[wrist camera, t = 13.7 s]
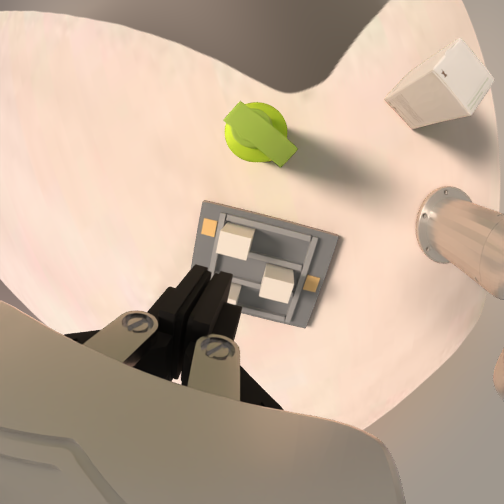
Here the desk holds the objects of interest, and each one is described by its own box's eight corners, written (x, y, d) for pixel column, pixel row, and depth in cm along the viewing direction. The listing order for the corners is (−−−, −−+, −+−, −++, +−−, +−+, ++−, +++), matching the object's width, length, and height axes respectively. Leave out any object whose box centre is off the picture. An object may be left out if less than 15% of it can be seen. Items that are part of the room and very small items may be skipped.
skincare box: (411, 130, 33) (470, 121, 18) (380, 97, 32) (429, 69, 17) (438, 99, 30) (498, 81, 16) (409, 67, 30) (461, 34, 15)
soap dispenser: (272, 175, 38) (261, 189, 19) (235, 143, 37) (188, 128, 18) (300, 144, 36) (317, 128, 17) (262, 113, 35) (241, 68, 16)
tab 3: (293, 269, 40) (294, 284, 36) (287, 287, 41) (287, 303, 37) (266, 262, 41) (264, 276, 36) (261, 280, 42) (258, 296, 37)
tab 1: (255, 228, 39) (251, 238, 34) (250, 248, 40) (246, 260, 35) (227, 222, 39) (220, 230, 35) (223, 241, 40) (215, 252, 36)
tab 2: (241, 284, 42) (236, 300, 37) (237, 301, 43) (232, 318, 38) (216, 278, 42) (208, 292, 38) (213, 294, 43) (205, 310, 39)
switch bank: (337, 234, 39) (339, 238, 38) (305, 324, 45) (305, 331, 43) (204, 200, 40) (201, 202, 38) (188, 294, 45) (185, 299, 44)
